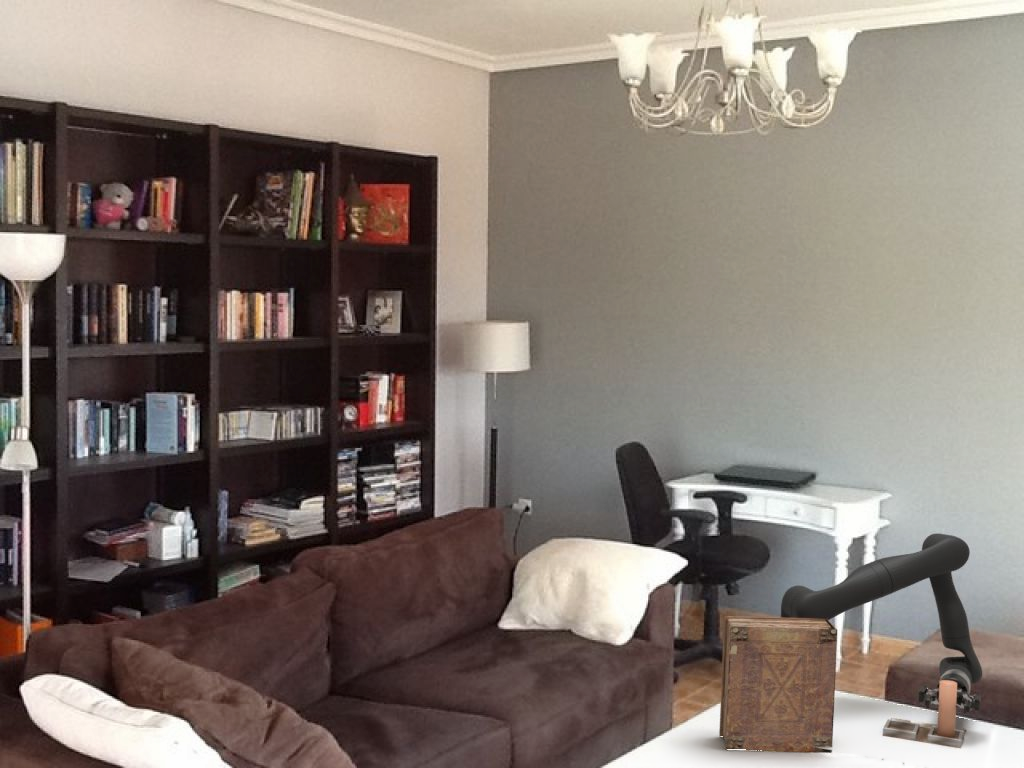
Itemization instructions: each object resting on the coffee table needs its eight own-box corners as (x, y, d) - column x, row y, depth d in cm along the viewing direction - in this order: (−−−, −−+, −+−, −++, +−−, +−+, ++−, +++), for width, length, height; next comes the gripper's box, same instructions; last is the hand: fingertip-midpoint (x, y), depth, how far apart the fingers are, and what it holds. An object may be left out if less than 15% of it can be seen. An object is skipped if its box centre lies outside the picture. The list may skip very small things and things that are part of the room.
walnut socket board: (882, 741, 308) (882, 729, 308) (890, 724, 321) (891, 712, 321) (960, 754, 301) (960, 741, 301) (966, 735, 314) (966, 723, 313)
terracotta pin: (936, 740, 306) (938, 683, 304) (938, 735, 309) (940, 679, 308) (953, 743, 304) (956, 686, 303) (955, 738, 307) (958, 681, 306)
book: (724, 750, 300) (729, 626, 298) (719, 736, 310) (723, 615, 307) (832, 753, 300) (837, 628, 298) (823, 739, 309) (828, 618, 307)
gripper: (924, 668, 321) (916, 686, 307) (984, 677, 315) (979, 695, 301) (923, 697, 322) (915, 717, 307) (983, 706, 316) (977, 726, 301)
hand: (946, 706), depth 304 cm, fingers open, 8 cm apart
